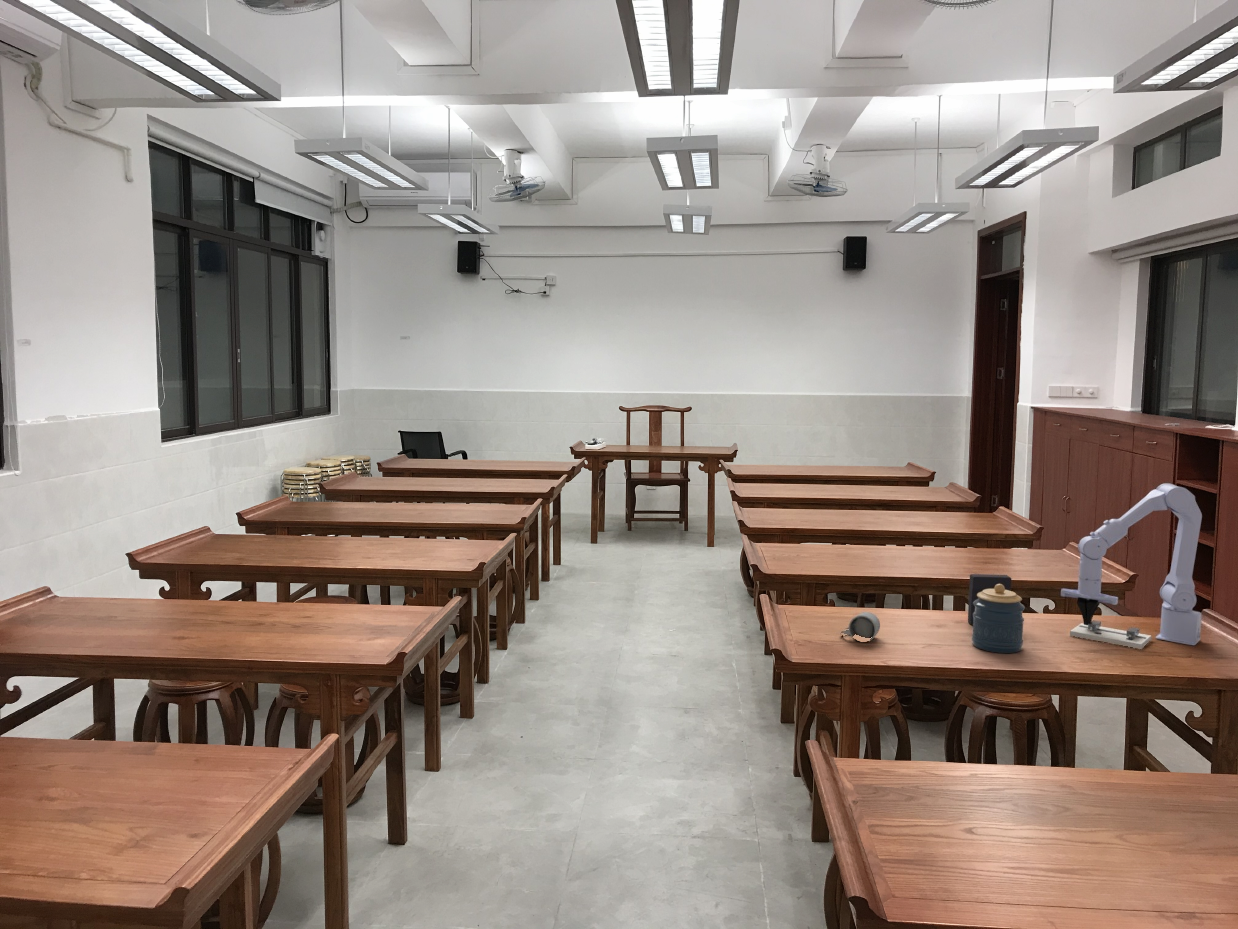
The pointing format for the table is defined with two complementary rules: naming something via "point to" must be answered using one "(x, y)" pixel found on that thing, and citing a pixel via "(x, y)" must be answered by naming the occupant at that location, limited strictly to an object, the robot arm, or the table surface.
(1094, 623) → the block
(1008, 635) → the canister
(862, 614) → the ceramic mug
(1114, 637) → the board
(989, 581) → the calculator
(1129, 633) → the fixed point
